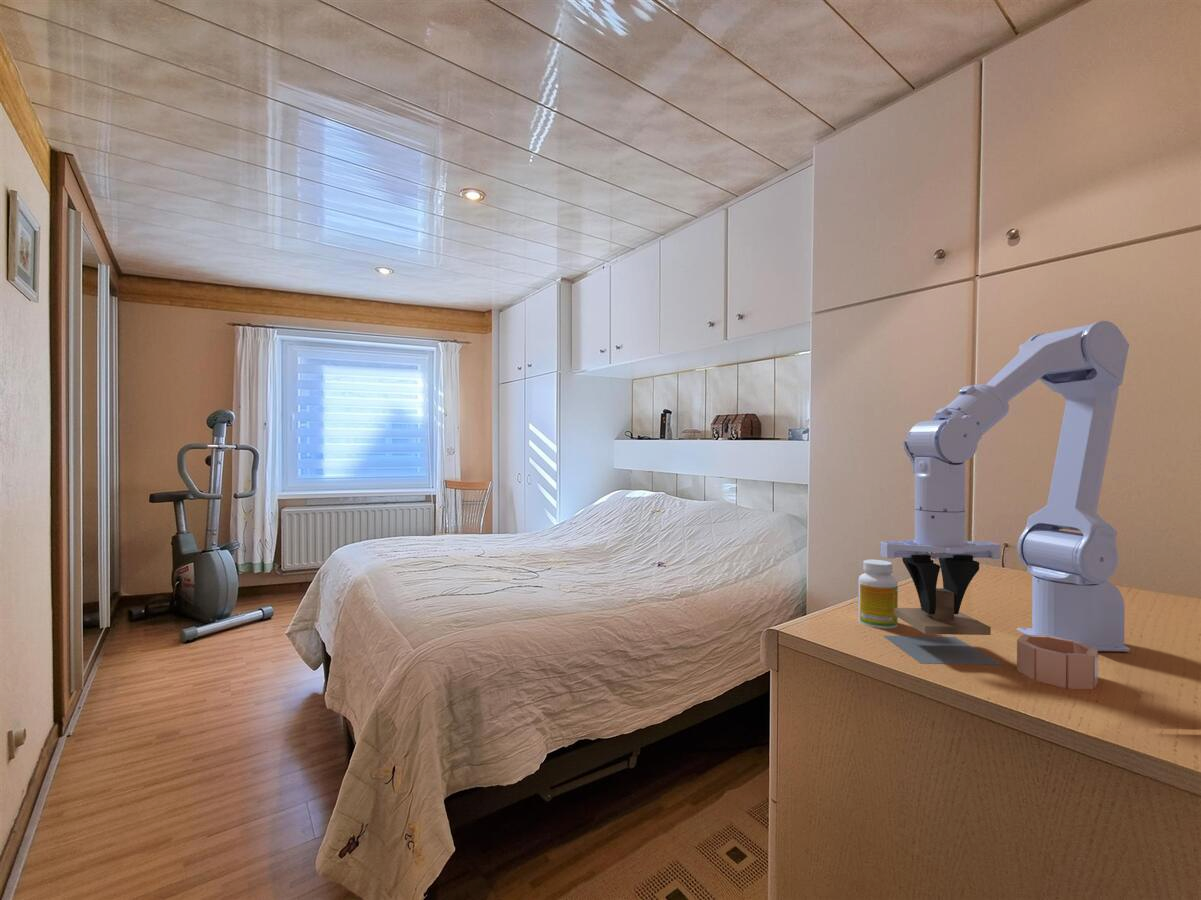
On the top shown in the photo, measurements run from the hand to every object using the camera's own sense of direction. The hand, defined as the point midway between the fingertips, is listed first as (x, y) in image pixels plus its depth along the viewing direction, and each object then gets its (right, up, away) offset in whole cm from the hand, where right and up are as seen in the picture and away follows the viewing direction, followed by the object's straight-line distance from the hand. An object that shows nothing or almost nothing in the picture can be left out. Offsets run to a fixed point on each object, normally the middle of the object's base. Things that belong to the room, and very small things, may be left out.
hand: (939, 612), depth 73 cm
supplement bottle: (-3, -6, +11) cm, 13 cm away
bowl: (+8, -5, -8) cm, 13 cm away
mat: (0, -5, 0) cm, 5 cm away
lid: (0, -2, 0) cm, 2 cm away
